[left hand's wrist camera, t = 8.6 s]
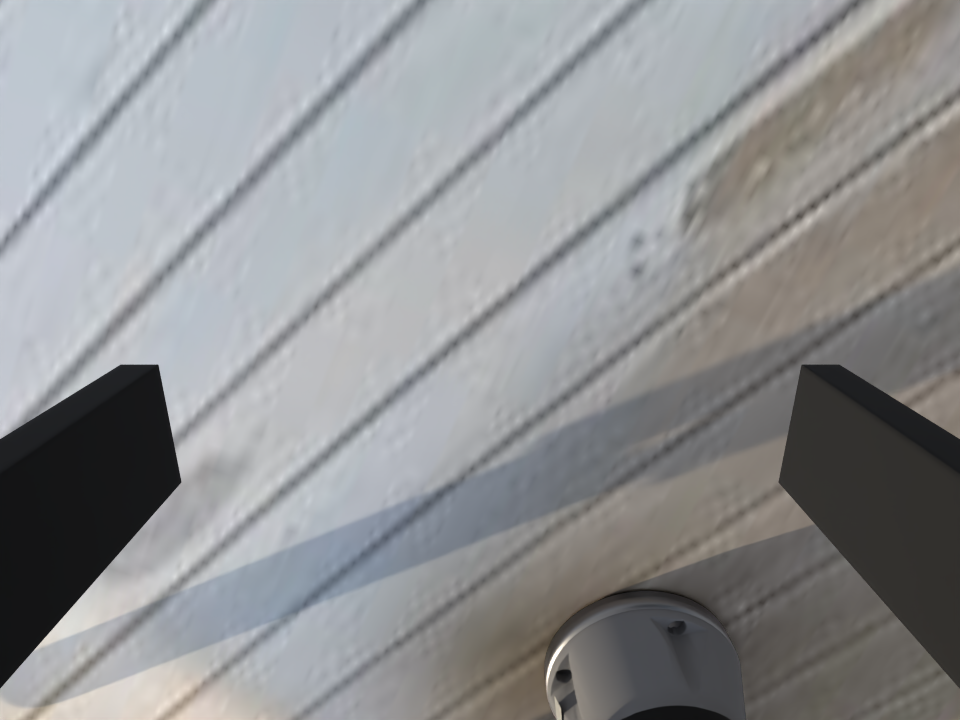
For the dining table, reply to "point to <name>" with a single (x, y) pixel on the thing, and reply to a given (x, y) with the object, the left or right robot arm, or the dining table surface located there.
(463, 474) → the dining table surface
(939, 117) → the dining table surface
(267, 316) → the dining table surface
